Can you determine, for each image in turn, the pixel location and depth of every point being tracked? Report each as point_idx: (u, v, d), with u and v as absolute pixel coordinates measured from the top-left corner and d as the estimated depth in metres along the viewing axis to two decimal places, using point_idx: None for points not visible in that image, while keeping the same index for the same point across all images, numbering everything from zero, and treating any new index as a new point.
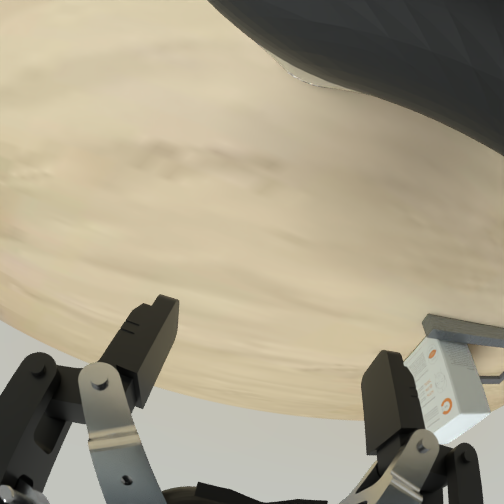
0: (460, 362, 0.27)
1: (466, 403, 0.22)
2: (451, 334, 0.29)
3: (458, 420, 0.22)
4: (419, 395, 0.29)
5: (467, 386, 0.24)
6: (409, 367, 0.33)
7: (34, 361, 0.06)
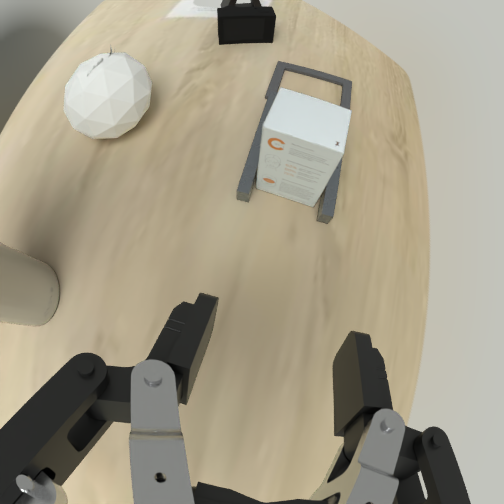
0: None
1: None
2: (247, 168, 0.36)
3: (281, 120, 0.26)
4: (306, 176, 0.32)
5: None
6: (303, 197, 0.36)
7: (83, 361, 0.07)
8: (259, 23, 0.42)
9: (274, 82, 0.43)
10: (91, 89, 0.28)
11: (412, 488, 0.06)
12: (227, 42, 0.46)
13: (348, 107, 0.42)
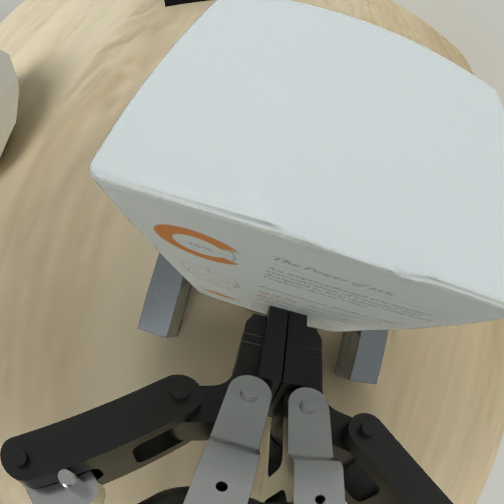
0: None
1: None
2: (163, 264, 0.14)
3: (204, 117, 0.04)
4: (330, 316, 0.09)
5: None
6: (313, 325, 0.14)
7: (179, 384, 0.07)
8: None
9: None
10: None
11: (359, 474, 0.07)
12: (178, 1, 0.23)
13: None
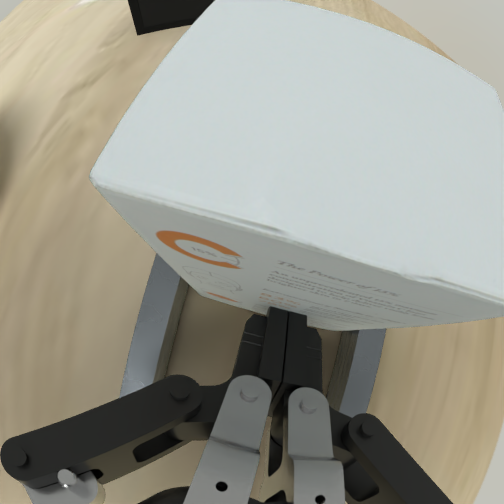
0: None
1: None
2: (128, 388, 0.12)
3: (206, 122, 0.04)
4: (332, 316, 0.09)
5: None
6: (315, 325, 0.14)
7: (179, 384, 0.07)
8: None
9: None
10: None
11: (359, 474, 0.07)
12: (151, 28, 0.22)
13: None
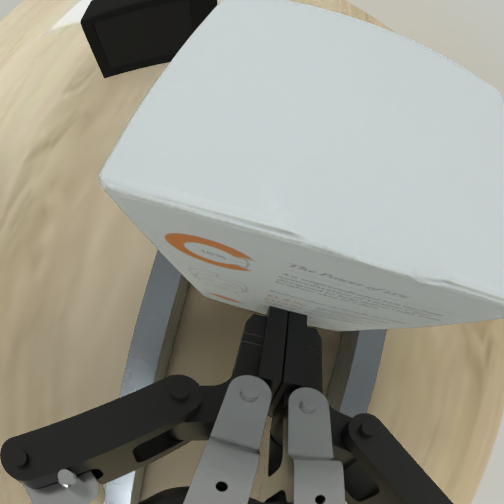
0: None
1: None
2: (112, 489, 0.11)
3: (218, 124, 0.04)
4: (338, 317, 0.09)
5: None
6: (319, 325, 0.14)
7: (179, 385, 0.07)
8: (179, 15, 0.16)
9: None
10: None
11: (359, 474, 0.07)
12: (119, 70, 0.20)
13: None
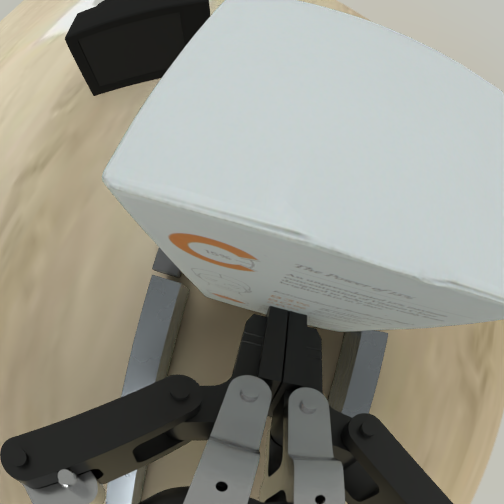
0: None
1: None
2: None
3: (224, 122, 0.04)
4: (341, 317, 0.09)
5: None
6: (321, 326, 0.14)
7: (179, 384, 0.07)
8: (169, 28, 0.16)
9: None
10: None
11: (359, 474, 0.07)
12: (108, 87, 0.19)
13: None
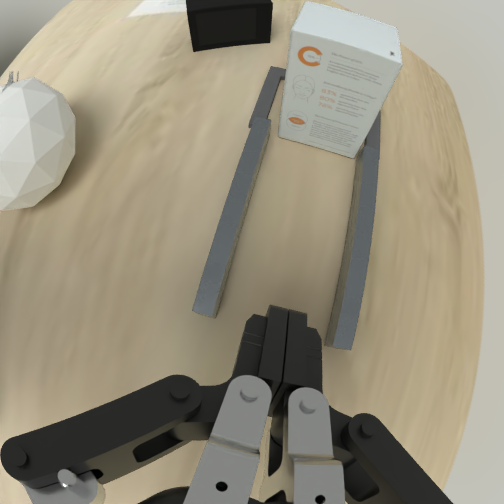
0: None
1: None
2: (210, 268, 0.22)
3: (315, 26, 0.16)
4: (349, 107, 0.21)
5: None
6: (342, 144, 0.26)
7: (179, 384, 0.07)
8: (248, 16, 0.28)
9: (264, 100, 0.29)
10: None
11: (359, 474, 0.07)
12: (204, 47, 0.32)
13: (378, 139, 0.28)
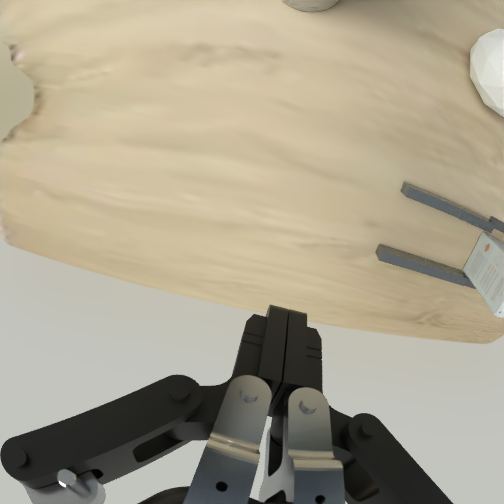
0: None
1: None
2: (427, 197, 0.36)
3: None
4: (485, 279, 0.36)
5: None
6: (470, 266, 0.40)
7: (179, 384, 0.07)
8: None
9: (503, 227, 0.37)
10: None
11: (359, 474, 0.07)
12: None
13: (469, 285, 0.43)
